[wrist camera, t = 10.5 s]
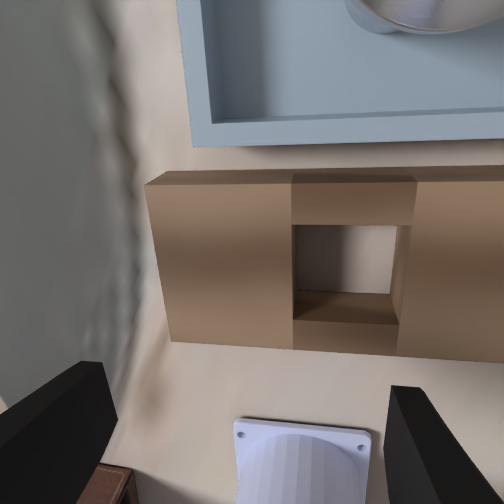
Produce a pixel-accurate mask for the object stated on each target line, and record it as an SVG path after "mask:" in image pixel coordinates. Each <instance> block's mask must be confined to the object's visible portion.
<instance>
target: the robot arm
mask: <svg viewBox="0 0 504 504" xmlns="http://www.w3.org/2000/svg"><path fill="white" fill-rule="evenodd" d="M117 421H118V418H117V414H116V411H115V407H114V403H113V400H112V396H111V392H110V389H109V385H108V382H107V378H106V374H105V371H104V367H103V364H102V362H90V361H80V362H79V363H77V364H75V365H74V366H72V367H70V368H69V369H67V370H66V371H64V372H63V373H61V374H60V375H58V376H57V377H55V378H54V379H52V380H51V381H49V382H48V383H46V384H45V385H43V386H42V387H40V388H39V389H37V390H36V391H34V392H33V393H31V394H30V395H28V396H27V397H25V398H24V399H22V400H21V401H20V402H18V403H17V404H15V405H14V406H12V407H11V408H9V409H8V410H6V411H5V412H3V413H2V414H0V504H76V503H77V501H78V499H79V497H80V496H81V494H82V492H83V491H84V489H85V487H86V485H87V484H88V482H89V480H90V478H91V476H92V475H93V473H94V471H95V469H96V468H97V466H98V464H99V462H100V460H101V458H102V456H103V454H104V452H105V449H106V447H107V445H108V443H109V440H110V438H111V436H112V433H113V431H114V428H115V426H116V423H117ZM233 434H234V443H235V453H236V462H237V472H238V482H239V484H238V489H237V494H236V499H235V504H365V498H366V489H367V480H368V471H369V462H370V452H371V443H372V441H371V435H370V434H369V433H368V432H367V431H364V430H355V429H345V428H335V427H325V426H315V425H305V424H295V423H285V422H275V421H265V420H255V419H245V418H238V419H236V420H235V421H234V424H233ZM383 450H384V459H385V468H386V477H387V486H388V494H389V500H390V504H504V502H503V501H502V499H501V498H500V497H499V495H498V494H497V493H496V492H495V490H494V489H493V488H492V487H491V485H490V484H489V483H488V481H487V480H486V479H485V477H484V476H483V475H482V473H481V472H480V471H479V469H478V468H477V467H476V465H475V464H474V463H473V462H472V460H471V459H470V458H469V456H468V455H467V453H466V452H465V451H464V449H463V448H462V447H461V445H460V444H459V442H458V441H457V440H456V438H455V437H454V435H453V434H452V433H451V431H450V430H449V428H448V427H447V425H446V424H445V422H444V421H443V420H442V418H441V417H440V415H439V414H438V412H437V411H436V409H435V408H434V406H433V405H432V403H431V402H430V400H429V399H428V397H427V395H426V394H425V392H424V391H423V390H422V389H421V388H420V387H407V386H395V385H391V392H390V400H389V408H388V415H387V423H386V431H385V439H384V447H383Z"/></svg>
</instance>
